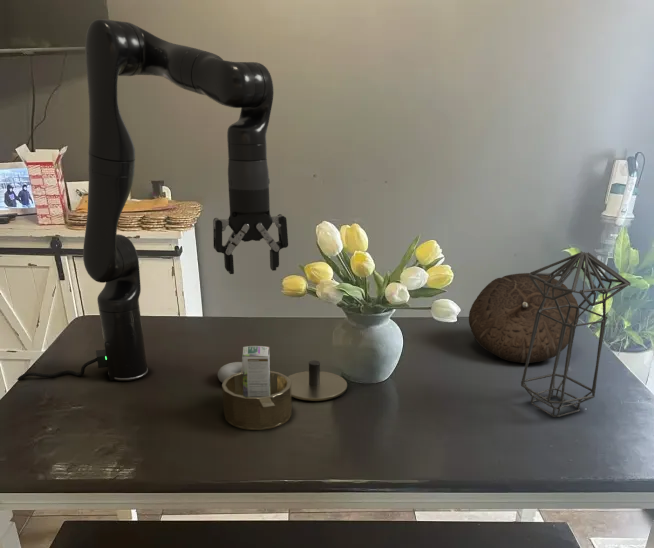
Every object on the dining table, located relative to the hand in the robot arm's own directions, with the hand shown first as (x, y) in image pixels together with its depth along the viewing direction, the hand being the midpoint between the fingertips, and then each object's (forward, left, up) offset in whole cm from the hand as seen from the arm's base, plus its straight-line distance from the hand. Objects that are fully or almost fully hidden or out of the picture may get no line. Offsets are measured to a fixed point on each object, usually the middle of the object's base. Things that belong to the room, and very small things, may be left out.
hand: (252, 271), depth 133 cm
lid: (+16, +9, -31) cm, 36 cm away
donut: (0, +19, -32) cm, 37 cm away
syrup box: (0, 0, -31) cm, 31 cm away
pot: (0, 0, -32) cm, 32 cm away
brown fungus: (+77, +16, -32) cm, 85 cm away
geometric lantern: (+65, -17, -32) cm, 74 cm away
